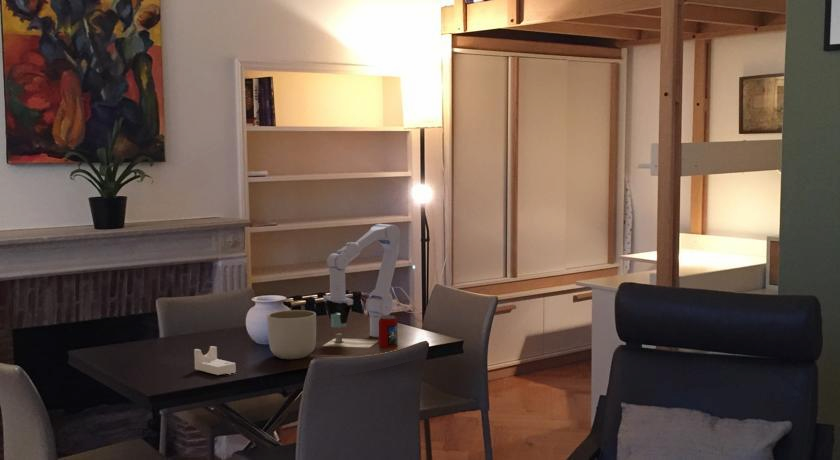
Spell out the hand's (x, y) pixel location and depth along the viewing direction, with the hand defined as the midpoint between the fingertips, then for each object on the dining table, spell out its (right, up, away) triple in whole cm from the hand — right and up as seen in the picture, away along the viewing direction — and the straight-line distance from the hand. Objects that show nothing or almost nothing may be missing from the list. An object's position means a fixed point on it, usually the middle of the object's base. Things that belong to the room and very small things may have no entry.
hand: (338, 322), depth 354 cm
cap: (0, -2, 0) cm, 2 cm away
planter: (-15, -11, -17) cm, 25 cm away
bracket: (-37, -13, -39) cm, 55 cm away
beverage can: (+19, -9, -7) cm, 22 cm away
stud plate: (+5, -9, 0) cm, 10 cm away
